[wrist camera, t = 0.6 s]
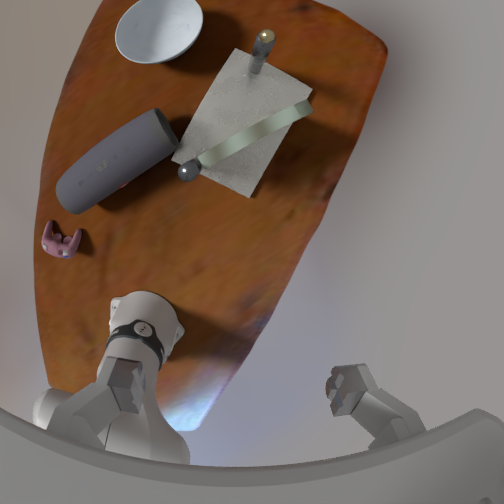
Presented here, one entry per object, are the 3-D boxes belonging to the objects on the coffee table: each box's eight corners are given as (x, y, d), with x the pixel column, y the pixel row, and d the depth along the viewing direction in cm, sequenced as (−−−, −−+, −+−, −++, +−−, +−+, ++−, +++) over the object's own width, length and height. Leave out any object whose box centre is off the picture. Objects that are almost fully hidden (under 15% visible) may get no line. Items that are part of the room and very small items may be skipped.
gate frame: (248, 196, 51) (259, 228, 34) (172, 159, 47) (141, 171, 30) (310, 90, 43) (353, 69, 26) (235, 49, 39) (239, 6, 22)
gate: (211, 161, 46) (205, 169, 33) (205, 152, 45) (197, 156, 33) (291, 118, 44) (314, 112, 31) (285, 109, 43) (306, 98, 31)
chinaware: (206, 67, 40) (202, 56, 33) (128, 79, 39) (113, 71, 32) (206, 4, 34) (203, -14, 27) (131, 17, 33) (118, 2, 26)
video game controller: (52, 231, 51) (39, 253, 46) (48, 217, 48) (33, 240, 43) (85, 241, 53) (73, 265, 48) (82, 227, 50) (68, 252, 45)
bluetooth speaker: (93, 209, 49) (70, 224, 40) (73, 172, 45) (46, 181, 36) (185, 150, 47) (174, 152, 37) (162, 108, 43) (147, 101, 34)
